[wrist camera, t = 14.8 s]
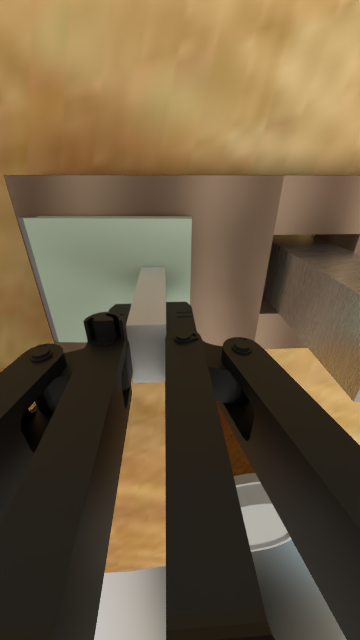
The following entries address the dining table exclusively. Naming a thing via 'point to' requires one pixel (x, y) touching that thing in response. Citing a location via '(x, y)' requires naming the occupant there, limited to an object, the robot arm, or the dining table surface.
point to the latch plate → (103, 263)
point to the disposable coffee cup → (253, 498)
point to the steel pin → (319, 301)
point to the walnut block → (213, 233)
